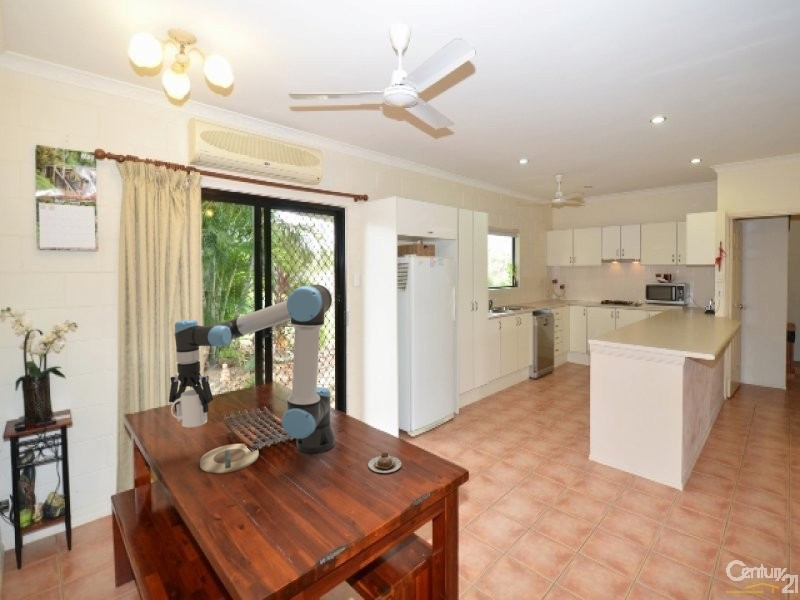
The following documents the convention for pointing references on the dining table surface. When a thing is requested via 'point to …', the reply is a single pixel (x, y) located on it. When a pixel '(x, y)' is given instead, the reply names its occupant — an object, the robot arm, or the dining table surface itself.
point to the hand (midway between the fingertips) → (192, 420)
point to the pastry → (384, 463)
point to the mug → (189, 409)
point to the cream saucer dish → (228, 458)
